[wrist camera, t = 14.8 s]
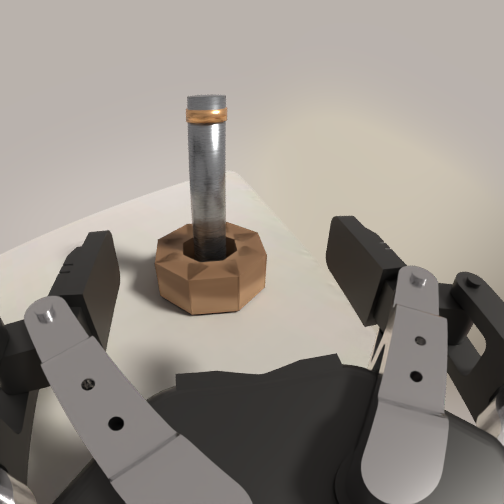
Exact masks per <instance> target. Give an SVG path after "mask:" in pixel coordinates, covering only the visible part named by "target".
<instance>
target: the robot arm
mask: <svg viewBox="0 0 504 504" xmlns="http://www.w3.org/2000/svg"><path fill="white" fill-rule="evenodd" d="M326 263H327V266H328V269H329V270H330V272H331V273H332V275H333V276H334V278H335V280H336V281H337V283H338V284H339V286H340V288H341V289H342V291H343V292H344V294H345V296H346V297H347V299H348V300H349V302H350V304H351V305H352V307H353V308H354V310H355V312H356V313H357V315H358V317H359V318H360V320H361V322H362V323H363V325H364V327H366V326H371V325H376V324H378V326H379V329H378V332H377V334H376V338H375V342H374V346H373V349H372V353H371V357H370V360H369V364H368V367H367V369H366V368H363V367H359V366H353V365H344V364H341V361H340V359H339V357H338V355H337V353H336V354H331V355H325V356H320V357H315V358H309V359H303V360H299V361H296V362H294V363H291V364H289V365H286V366H284V367H281V368H279V369H276V370H273V371H271V372H268V373H265V374H245V373H234V372H223V371H210V372H198V373H185V374H176V386H175V387H172V388H168V389H166V390H164V391H161V392H159V393H157V394H155V395H153V396H152V397H150V398H149V399H147V400H145V399H144V398H143V397H142V396H141V394H140V393H139V392H138V391H137V390H136V389H135V388H134V386H133V385H132V384H131V383H130V382H129V380H128V379H127V378H126V377H125V376H124V374H123V373H122V372H121V371H120V370H119V368H118V367H117V366H116V365H115V363H114V362H113V361H112V360H111V358H110V357H109V356H108V354H107V353H106V348H107V342H108V337H109V332H110V327H111V322H112V317H113V312H114V308H115V303H116V299H117V294H118V290H119V286H120V271H119V266H118V261H117V257H116V252H115V248H114V243H113V238H112V234H111V232H110V231H109V230H107V231H97V232H89V234H88V235H87V237H86V239H85V241H84V243H83V245H82V247H77V248H75V249H74V250H73V251H72V252H71V253H70V254H69V255H68V256H67V258H66V260H65V262H64V264H63V266H62V268H61V270H60V272H59V273H60V274H58V276H57V278H56V280H55V282H54V284H53V286H52V288H51V290H50V293H49V295H48V296H47V297H43V298H41V299H39V300H37V301H35V302H34V303H33V304H31V305H30V306H29V308H28V309H27V310H26V312H25V315H24V320H20V321H17V322H14V323H10V324H7V325H4V323H3V322H2V320H1V318H0V504H37V503H36V500H35V497H34V495H33V493H32V491H31V490H30V489H29V488H28V487H27V471H28V459H29V449H30V440H31V433H32V425H33V419H34V413H35V407H36V401H37V396H38V391H39V389H41V388H45V387H49V386H51V387H52V389H53V391H54V393H55V395H56V397H57V399H58V401H59V402H60V404H61V406H62V408H63V410H64V411H65V413H66V415H67V417H68V418H69V420H70V422H71V423H72V425H73V427H74V428H75V430H76V432H77V433H78V435H79V436H80V438H81V439H82V441H83V443H84V444H85V446H86V447H87V449H88V450H89V452H90V453H91V455H92V456H93V459H92V460H91V461H90V462H89V463H88V464H87V465H86V466H85V468H84V469H83V470H82V471H81V472H80V473H79V474H78V475H77V477H76V478H75V479H74V480H73V481H72V482H71V483H70V484H69V485H68V487H67V488H66V489H65V490H64V491H63V492H62V493H61V494H60V495H59V497H58V498H57V499H56V500H55V501H54V502H53V503H52V504H504V302H503V301H502V300H501V299H500V297H499V296H498V295H497V294H496V293H495V292H494V291H493V290H492V289H491V287H490V286H489V285H488V284H487V283H486V282H485V281H484V280H483V279H482V278H480V277H478V276H477V275H475V274H472V273H469V272H460V273H458V274H457V275H456V278H455V280H454V283H453V284H443V283H438V281H437V279H436V278H435V276H434V275H433V274H432V273H430V272H429V271H427V270H426V269H423V268H421V267H417V266H407V265H406V264H405V263H404V262H403V261H402V260H401V259H400V258H399V257H398V256H397V255H396V253H395V252H394V251H393V250H392V249H390V247H389V246H388V245H387V244H386V243H384V241H383V240H382V239H381V238H380V237H379V236H378V235H377V234H376V233H374V232H372V231H371V230H369V229H367V228H365V227H364V226H363V225H362V224H361V223H360V222H359V221H358V220H357V219H356V218H355V217H354V216H335V217H333V219H332V221H331V226H330V232H329V238H328V244H327V251H326ZM473 323H474V324H475V325H476V327H477V328H478V329H479V331H480V332H481V333H482V335H483V336H484V338H485V340H486V349H485V352H484V353H483V355H482V356H480V355H479V353H478V352H477V350H476V349H475V347H474V346H473V345H472V343H471V342H470V340H469V339H468V337H467V334H468V332H469V331H470V329H471V327H472V325H473ZM447 373H448V374H449V376H450V378H451V379H452V381H453V383H454V385H455V386H456V388H457V390H458V392H459V393H460V395H461V397H462V399H463V400H464V402H465V404H466V406H467V408H468V409H469V411H470V413H471V415H472V417H473V419H474V421H475V422H476V426H474V425H473V424H471V423H469V422H467V421H465V420H463V419H461V418H459V417H457V416H455V415H453V414H452V413H450V412H448V411H446V410H444V405H445V393H446V378H447V377H446V376H447Z"/></svg>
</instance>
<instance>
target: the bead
mask: <svg viewBox="0 0 504 504" xmlns="http://www.w3.org/2000/svg"><path fill="white" fill-rule="evenodd" d="M266 261H267V254H266V252H265V249H264V247H263V245H262V242H261V240H260V237H259V235H258V233H257V232H254V231H251V230H248V229H245V228H243V227H240V226H237V225H234V224H231V223H228V222H226V259H225V260H223V261H211V262H198V261H196V260H195V254H194V241H193V227H192V224H186V225H185V226H183V227H181V228H179V229H177V230H175V231H173V232H171V233H170V234H168V235H166V236H164V237H162V238H160V239H158V244H157V252H156V259H155V268H156V274H157V279H158V285H159V291H160V296H162V297H164V298H165V299H167V300H169V301H170V302H172V303H174V304H175V305H177V306H179V307H180V308H182V309H184V310H185V311H187V312H189V313H190V314H192V315H193V314H206V313H217V312H229V311H239V310H240V309H241V308H242V307H244V306H245V305H246V304H247V303H248V302H249V301H250V300H251V299H252V298H253V297H255V296H256V295H257V294H258V293H259V292H260V291H261V290H262V289H263V288H265V277H266Z"/></svg>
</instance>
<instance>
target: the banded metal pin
mask: <svg viewBox="0 0 504 504" xmlns="http://www.w3.org/2000/svg"><path fill="white" fill-rule="evenodd" d="M187 101H188V102H187V103H188V104H187V107H188V108H187V109H186V121H187V122H188V146H189V147H188V148H189V172H190V173H189V174H190V194H191V211H192V227H193V241H194V254H195V260H196V261H198V262H211V261H223V260H225V259H226V203H225V121H226V120H227V107H226V96H225V95H197V96H188V97H187Z"/></svg>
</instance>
